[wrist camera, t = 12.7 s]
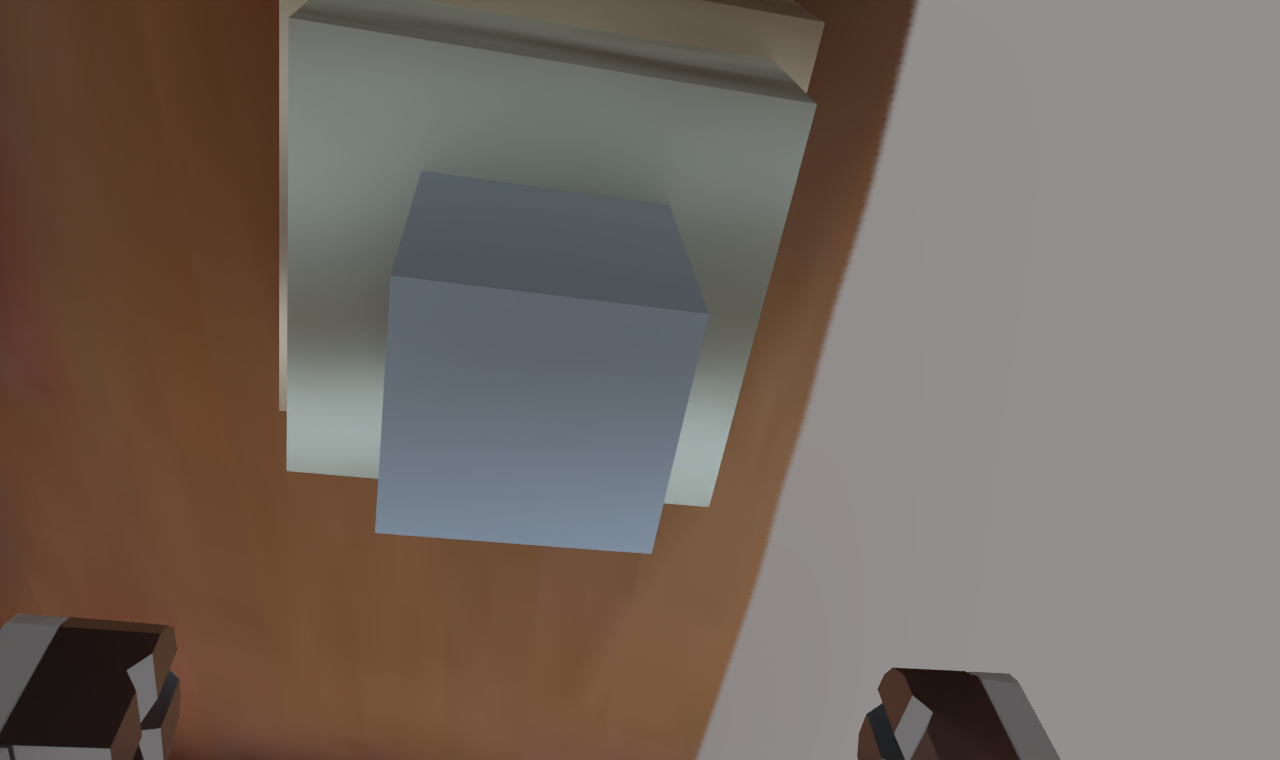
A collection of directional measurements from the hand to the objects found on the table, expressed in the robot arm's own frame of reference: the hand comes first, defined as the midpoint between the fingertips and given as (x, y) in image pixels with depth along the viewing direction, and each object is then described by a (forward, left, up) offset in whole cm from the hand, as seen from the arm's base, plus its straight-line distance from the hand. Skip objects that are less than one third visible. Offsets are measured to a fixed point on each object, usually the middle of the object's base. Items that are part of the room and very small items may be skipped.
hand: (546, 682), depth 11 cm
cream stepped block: (0, 0, -19) cm, 19 cm away
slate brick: (0, 0, -11) cm, 11 cm away
